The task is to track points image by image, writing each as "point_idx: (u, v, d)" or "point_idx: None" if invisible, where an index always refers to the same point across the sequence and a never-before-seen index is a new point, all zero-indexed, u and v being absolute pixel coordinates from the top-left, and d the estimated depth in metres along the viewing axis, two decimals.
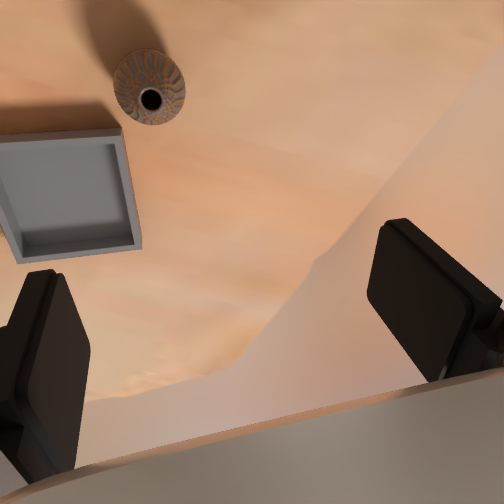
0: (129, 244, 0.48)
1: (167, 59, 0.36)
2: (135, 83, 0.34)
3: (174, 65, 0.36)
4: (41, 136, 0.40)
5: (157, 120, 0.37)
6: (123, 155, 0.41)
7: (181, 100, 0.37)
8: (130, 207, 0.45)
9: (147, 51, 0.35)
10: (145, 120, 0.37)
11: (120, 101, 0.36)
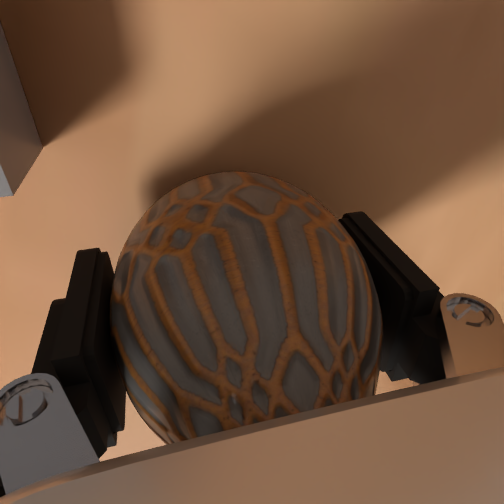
0: None
1: None
2: (353, 389, 0.07)
3: None
4: None
5: (162, 433, 0.08)
6: None
7: None
8: None
9: None
10: (157, 397, 0.07)
11: (229, 275, 0.07)
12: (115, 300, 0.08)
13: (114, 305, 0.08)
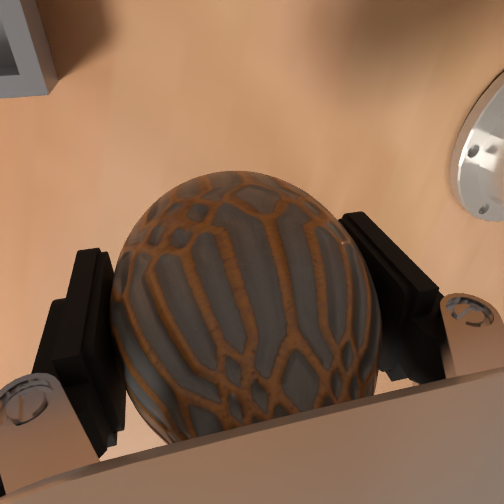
0: None
1: None
2: (352, 388, 0.07)
3: None
4: None
5: (161, 432, 0.08)
6: None
7: None
8: None
9: None
10: (158, 395, 0.07)
11: (229, 274, 0.07)
12: (115, 299, 0.08)
13: (114, 304, 0.08)
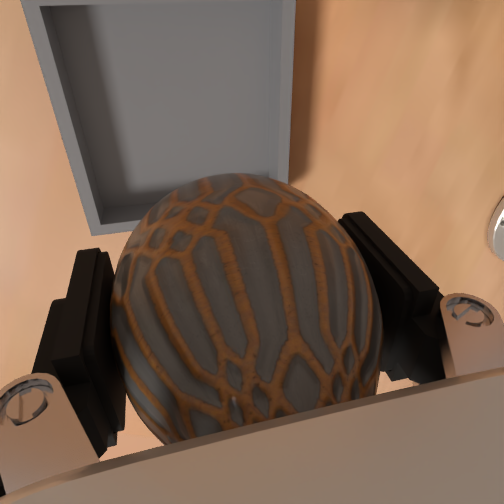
0: (98, 215, 0.27)
1: None
2: (354, 392, 0.07)
3: None
4: None
5: (162, 435, 0.08)
6: None
7: None
8: None
9: None
10: (158, 399, 0.07)
11: (229, 277, 0.07)
12: (115, 302, 0.08)
13: (114, 307, 0.08)
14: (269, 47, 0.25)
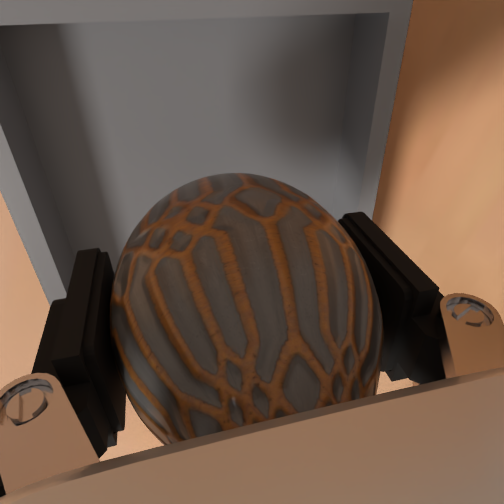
0: None
1: None
2: (354, 392, 0.07)
3: None
4: None
5: (161, 435, 0.08)
6: None
7: None
8: None
9: None
10: (157, 399, 0.07)
11: (229, 277, 0.07)
12: (115, 302, 0.08)
13: (114, 307, 0.08)
14: (346, 83, 0.16)
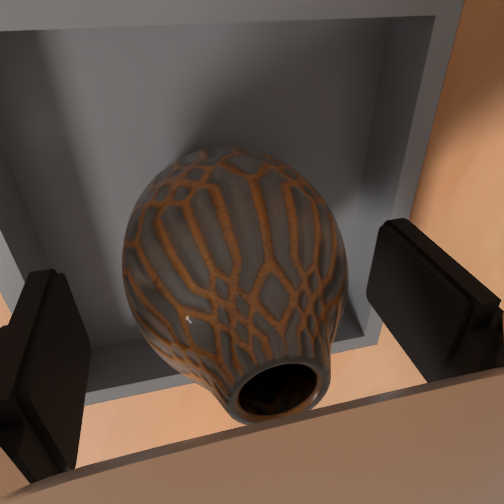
0: None
1: None
2: (317, 307, 0.09)
3: None
4: None
5: (166, 350, 0.10)
6: (336, 351, 0.18)
7: None
8: None
9: None
10: (162, 315, 0.09)
11: (219, 217, 0.09)
12: (127, 246, 0.10)
13: (127, 250, 0.10)
14: (373, 95, 0.14)
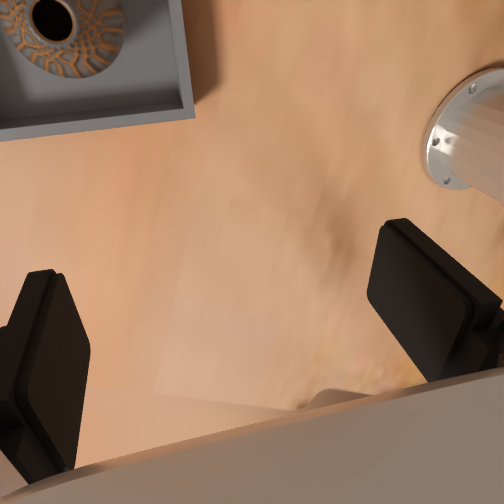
0: None
1: (119, 49, 0.23)
2: None
3: (112, 61, 0.24)
4: None
5: (12, 26, 0.20)
6: (166, 120, 0.29)
7: (61, 73, 0.22)
8: (77, 126, 0.27)
9: (123, 15, 0.23)
10: (5, 0, 0.19)
11: None
12: None
13: None
14: None
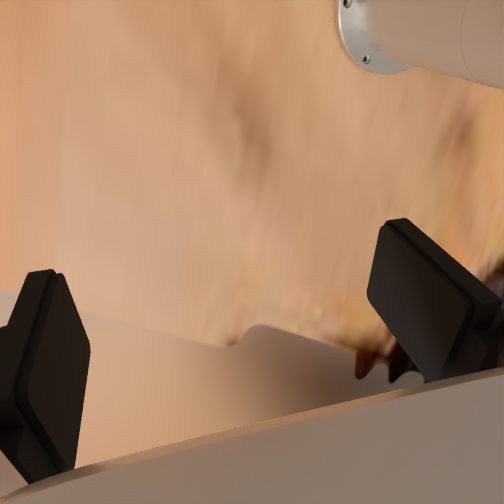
0: None
1: None
2: None
3: None
4: None
5: None
6: None
7: None
8: None
9: None
10: None
11: None
12: None
13: None
14: None
